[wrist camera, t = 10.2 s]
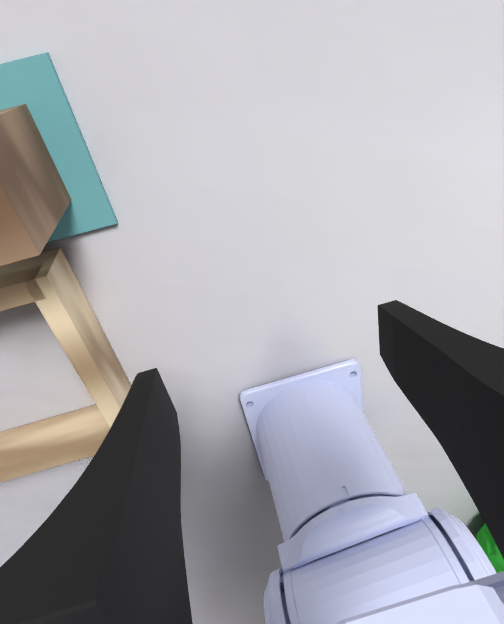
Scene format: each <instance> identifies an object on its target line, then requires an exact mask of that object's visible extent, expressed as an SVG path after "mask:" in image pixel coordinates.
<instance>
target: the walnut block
mask: <svg viewBox="0 0 504 624" xmlns="http://www.w3.org/2000/svg"><path fill="white" fill-rule="evenodd" d="M70 202H71V197H70V195H69V193H68V191H67V189H66V187H65V185H64V183H63V181H62V178H61V176H60V174H59V172H58V170H57V168H56V166H55V164H54V162H53V159H52V157H51V155H50V153H49V151H48V149H47V147H46V145H45V143H44V140H43V138H42V136H41V134H40V132H39V130H38V128H37V126H36V124H35V122H34V119H33V117H32V115H31V113H30V111H29V109H28V107H27V105H26V104H23V105H19V106H15V107H11V108H8V109H4V110H0V266H3V265H6V264H10V263H13V262H17V261H20V260H24V259H28V258H31V257H35V256H38V255H40V254H41V252H42V250H43V249H44V247H45V245H46V243H47V242H48V240H49V238H50V236H51V235H52V233H53V231H54V229H55V228H56V226H57V224H58V223H59V221H60V219H61V217H62V216H63V214H64V212H65V210H66V209H67V207H68V205H69V203H70Z"/></svg>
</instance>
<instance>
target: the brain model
mask: <svg viewBox="0 0 504 624" xmlns="http://www.w3.org/2000/svg"><path fill="white" fill-rule="evenodd" d="M476 540H477V542H478V543H479V545H480V546H481V548H482V549H483V551H484V553H485V554H486V556H487V557H488V559H489V561H490V562H491V564H492V566H493V567H494V569H495V571H496V573H499V572H503V571H504V559H503V557H502V555H501V553H500V551H499V549H498V547H497V545H496V543H495V541H494V539H493V537H492V535H491V533H490V531H489V529H488V528H487V526H486V524H485V523H484V525H483V526H482V527H481V529H480V530H479V532H478V533H477V535H476Z"/></svg>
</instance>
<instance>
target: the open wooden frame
mask: <svg viewBox="0 0 504 624" xmlns="http://www.w3.org/2000/svg"><path fill="white" fill-rule="evenodd" d="M32 302H35V303H36V304H37V306H38V308H39V309H40V311H41V313H42V314H43V316H44V318H45V319H46V321H47V323H48V324H49V326H50V328H51V330H52V331H53V333H54V335H55V336H56V338H57V340H58V341H59V343H60V345H61V346H62V348H63V350H64V351H65V353H66V355H67V356H68V358H69V360H70V361H71V363H72V365H73V366H74V368H75V370H76V371H77V373H78V375H79V376H80V378H81V380H82V382H83V383H84V385H85V387H86V388H87V390H88V392H89V393H90V395H91V397H92V398H93V400H94V402H95V403H96V405H93V406H90V407H86V408H83V409H79V410H76V411H72V412H69V413H65V414H62V415H58V416H55V417H51V418H48V419H44V420H41V421H37V422H34V423H30V424H27V425H23V426H20V427H16V428H13V429H9V430H6V431H2V432H0V482H4V481H7V480H11V479H14V478H17V477H21V476H24V475H28V474H31V473H35V472H38V471H42V470H45V469H49V468H52V467H55V466H59V465H62V464H66V463H69V462H73V461H76V460H80V459H83V458H86V457H90V456H93V455H95V454H96V452H97V451H98V449H99V447H100V446H101V444H102V442H103V440H104V439H105V437H106V435H107V433H108V432H109V430H110V428H111V426H112V424H113V422H114V420H115V418H116V416H117V414H118V413H119V411H120V409H121V407H122V405H123V402H124V400H125V398H126V396H127V394H128V392H129V390H130V388H131V384H130V382H129V380H128V378H127V376H126V374H125V372H124V370H123V368H122V367H121V365H120V363H119V361H118V359H117V357H116V355H115V353H114V351H113V349H112V347H111V345H110V343H109V341H108V339H107V337H106V335H105V333H104V331H103V329H102V327H101V325H100V323H99V322H98V320H97V318H96V316H95V314H94V312H93V310H92V308H91V306H90V304H89V302H88V300H87V298H86V296H85V294H84V292H83V290H82V288H81V286H80V284H79V282H78V280H77V278H76V276H75V275H74V273H73V271H72V269H71V267H70V265H69V263H68V261H67V259H66V257H65V255H64V253H63V251H62V249H61V247H60V248H57V249H53V250H49V251H46V252H42V253H41V254H40V255H38V256H35V257H31V258H28V259H24V260H20V261H17V262H13V263H10V264H6V265H3V266H0V311H3V310H7V309H10V308H14V307H17V306H21V305H25V304H28V303H32Z"/></svg>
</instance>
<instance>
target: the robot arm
mask: <svg viewBox="0 0 504 624" xmlns="http://www.w3.org/2000/svg"><path fill="white" fill-rule="evenodd" d="M378 324H379V344H380V355H381V357H382V359H383V361H384V363H385V365H386V367H387V368H388V370H389V372H390V374H391V376H392V377H393V379H394V381H395V382H396V383H397V385H398V386H399V388H400V389H401V390H402V392H403V393H404V394H405V396H406V397H407V399H408V400H409V401H410V403H411V404H412V405H413V407H414V408H415V409H416V411H417V412H418V413H419V415H420V416H421V418H422V419H423V420H424V422H425V423H426V424H427V426H428V427H429V428H430V430H431V431H432V432H433V434H434V435H435V437H436V438H437V440H438V441H439V443H440V444H441V446H442V447H443V449H444V451H445V452H446V454H447V456H448V457H449V459H450V461H451V462H452V464H453V466H454V468H455V469H456V471H457V473H458V474H459V476H460V478H461V480H462V482H463V483H464V485H465V487H466V489H467V490H468V492H469V494H470V496H471V498H472V499H473V501H474V503H475V505H476V507H477V509H478V511H479V512H480V514H481V516H482V518H483V520H484V522H485V524H486V526H487V528H488V529H489V531H490V533H491V535H492V537H493V539H494V541H495V543H496V545H497V547H498V549H499V551H500V553H501V555H502V557H503V559H504V349H503V348H500V347H497V346H495V345H492V344H489V343H487V342H484V341H482V340H479V339H477V338H475V337H472V336H470V335H467V334H465V333H463V332H460V331H458V330H456V329H454V328H452V327H449V326H447V325H445V324H443V323H441V322H439V321H437V320H435V319H433V318H431V317H429V316H427V315H425V314H423V313H421V312H419V311H417V310H415V309H413V308H411V307H409V306H407V305H405V304H403V303H401V302H399V301H397V300H395V301H391V302H388V303H384V304H381V305H378ZM353 371H354V372H353ZM351 372H353V373H351ZM350 373H351V374H350ZM240 401H241V404H242V408H243V411H244V414H245V417H246V420H247V423H248V426H249V429H250V433H251V436H252V439H253V442H254V445H255V448H256V451H257V455H258V458H259V461H260V464H261V467H262V470H263V473H264V477H265V479H266V481H269V484H270V488H271V492H272V496H273V500H274V504H275V508H276V512H277V516H278V520H279V524H280V528H281V532H282V536H283V540H284V543H282V544H279V545H278V546H277V549H278V553H279V557H280V561H281V566H282V568H279V569H277V570H274V571H272V572H271V574H270V576H269V579H268V584H267V586H266V589H265V592H264V616H265V624H504V571H503V572H499V573H496V571H495V569H494V567H493V566H492V564H491V562H490V561H489V559H488V557H487V556H486V554H485V553H484V551H483V549H482V548H481V546H480V545H479V543H478V542H477V540H476V539H475V538H474V536H473V535H472V533H471V532H470V531H469V529H468V528H467V527H466V526H465V525H464V524H463V522H462V521H461V520H460V519H458V518H457V517H455V516H453V515H451V514H449V513H446V512H445V511H444V510H443V509H441V508H435V509H432V510H430V511H426V510H425V508H424V506H423V504H422V503H421V501H420V499H419V497H418V496H417V494H416V493H410V494H409V493H408V492H407V490H406V488H405V486H404V484H403V482H402V481H401V479H400V477H399V475H398V473H397V472H396V470H395V468H394V466H393V464H392V463H391V461H390V459H389V457H388V455H387V454H386V452H385V450H384V448H383V446H382V445H381V443H380V441H379V439H378V437H377V435H376V434H375V432H374V430H373V428H372V426H371V425H370V423H369V421H368V419H367V417H366V416H365V414H364V409H363V397H362V386H361V374H360V365H359V363H358V362H357V361H356V360H354V359H352V360H347V361H344V362H340V363H337V364H334V365H330V366H327V367H323V368H320V369H316V370H313V371H309V372H306V373H302V374H299V375H295V376H292V377H288V378H285V379H281V380H278V381H274V382H271V383H268V384H264V385H261V386H257V387H254V388H250V389H247V390H244V391H242V392H241V393H240ZM250 401H251V402H250ZM247 402H250V403H247ZM180 487H181V444H180V434H179V425H178V418H177V412H176V410H175V408H174V405H173V403H172V401H171V399H170V397H169V394H168V392H167V390H166V388H165V385H164V383H163V381H162V379H161V377H160V374H159V372H158V370H157V368H155V369H151V370H148V371H144V372H141V373H138V374H137V375H136V377H135V379H134V381H133V383H132V385H131V388H130V390H129V392H128V394H127V396H126V398H125V400H124V402H123V405H122V407H121V409H120V411H119V413H118V414H117V416H116V418H115V420H114V422H113V424H112V426H111V428H110V430H109V432H108V433H107V435H106V437H105V439H104V440H103V442H102V444H101V446H100V447H99V449H98V451H97V452H96V454H95V456H94V457H93V459H92V460H91V462H90V463H89V465H88V466H87V468H86V470H85V471H84V472H83V474H82V475H81V477H80V478H79V480H78V481H77V482H76V484H75V485H74V486H73V488H72V489H71V490H70V491H69V493H68V494H67V495H66V496H65V498H64V499H63V500H62V501H61V503H60V504H59V505H58V506H57V508H56V509H55V510H54V511H53V513H52V514H51V515H50V516H49V517H48V518H47V520H46V521H45V522H44V523H43V524H42V525H41V526H40V527H39V528H38V530H37V531H36V532H35V533H34V534H33V535H32V536H31V537H30V538H29V539H28V540H27V541H26V542H25V543H24V545H23V546H22V547H21V548H20V549H19V550H18V551H17V552H16V553H15V554H14V555H13V556H12V557H11V558H10V559H9V560H8V561H6V562H5V563H4V564H3V565H2V566H1V567H0V624H192V616H191V609H190V601H189V593H188V585H187V576H186V568H185V559H184V549H183V539H182V529H181V511H180Z"/></svg>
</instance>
